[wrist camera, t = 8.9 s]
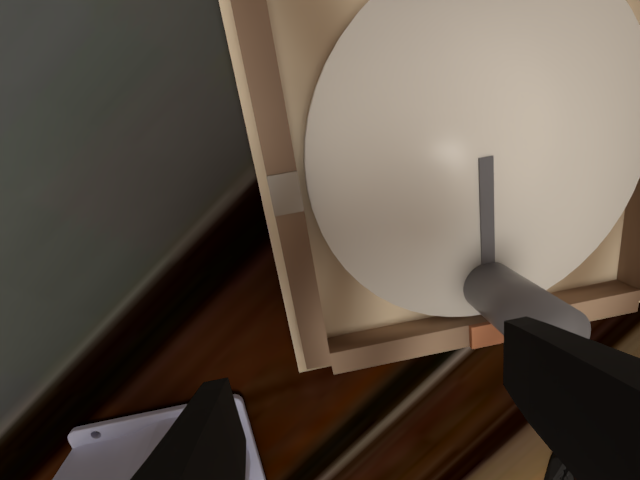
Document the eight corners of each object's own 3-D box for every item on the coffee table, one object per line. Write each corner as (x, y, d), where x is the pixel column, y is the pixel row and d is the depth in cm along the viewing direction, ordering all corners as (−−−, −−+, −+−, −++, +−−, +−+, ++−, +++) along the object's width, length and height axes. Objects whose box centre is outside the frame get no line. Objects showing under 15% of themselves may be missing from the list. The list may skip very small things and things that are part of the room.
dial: (268, -15, 13) (260, -112, 8) (652, -78, 13) (880, -204, 8) (333, 334, 17) (355, 419, 12) (615, 274, 18) (746, 330, 13)
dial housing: (297, 354, 19) (300, 393, 17) (210, -55, 14) (191, -105, 11) (617, 289, 20) (672, 315, 18) (667, -119, 14) (762, -180, 12)
